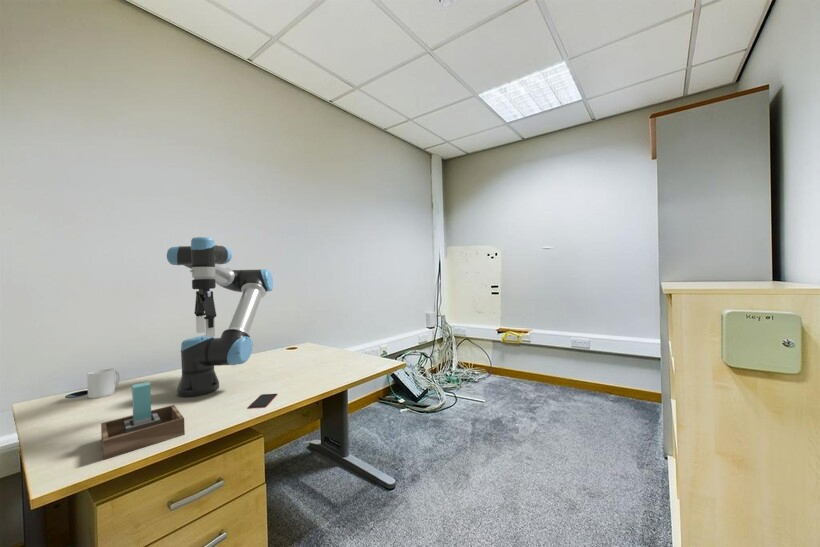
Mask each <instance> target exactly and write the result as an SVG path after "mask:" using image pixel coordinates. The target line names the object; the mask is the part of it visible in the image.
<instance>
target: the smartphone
mask: <svg viewBox="0 0 820 547" xmlns="http://www.w3.org/2000/svg"><path fill="white" fill-rule="evenodd" d="M277 396H278V393H266V394H265V393H264V394H262V393H261V394H260V395H259V396H258V397H257V398H256V399H255V400H254V401H252V402H251V403H250V404H249V405H248V407H247V409H248V410H249V409H250V410H252V409H265V408H267V407H268V406H269V405H270V404H271V403H272V402H273V401H274V399H275V398H276V397H277Z"/></svg>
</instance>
